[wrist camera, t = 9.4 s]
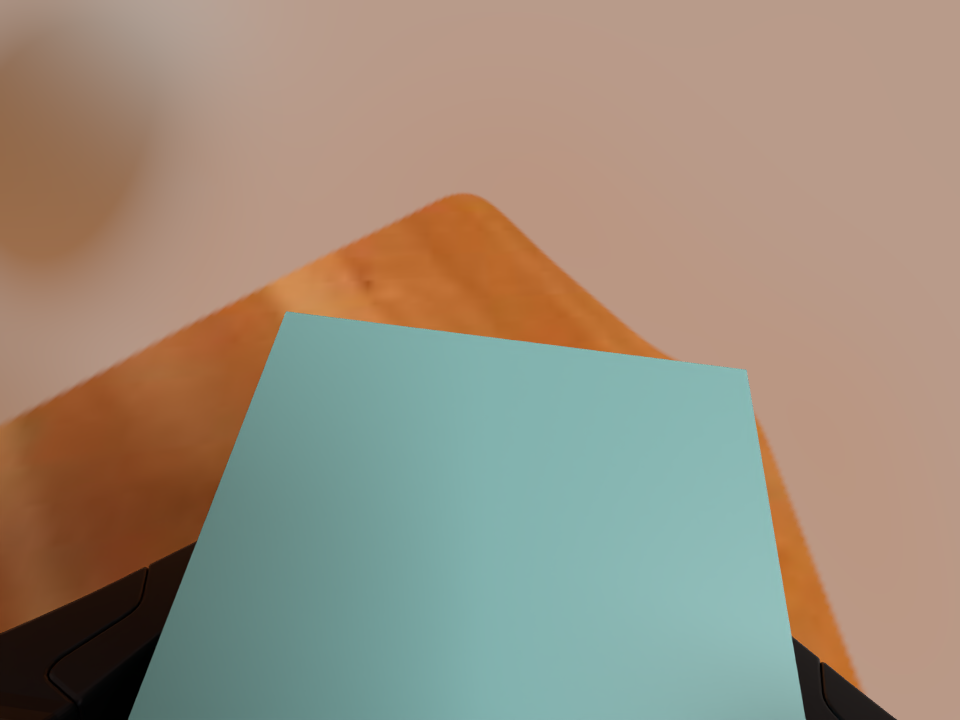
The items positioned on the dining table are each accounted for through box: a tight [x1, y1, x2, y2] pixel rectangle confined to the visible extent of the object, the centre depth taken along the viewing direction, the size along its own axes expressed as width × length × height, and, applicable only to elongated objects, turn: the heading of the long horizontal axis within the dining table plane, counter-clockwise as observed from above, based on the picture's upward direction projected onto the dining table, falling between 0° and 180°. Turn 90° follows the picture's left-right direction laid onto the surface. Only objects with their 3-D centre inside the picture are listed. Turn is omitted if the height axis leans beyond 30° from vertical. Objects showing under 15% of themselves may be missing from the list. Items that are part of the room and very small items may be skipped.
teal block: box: [128, 312, 806, 720], centre depth 9 cm, size 6×6×10 cm
